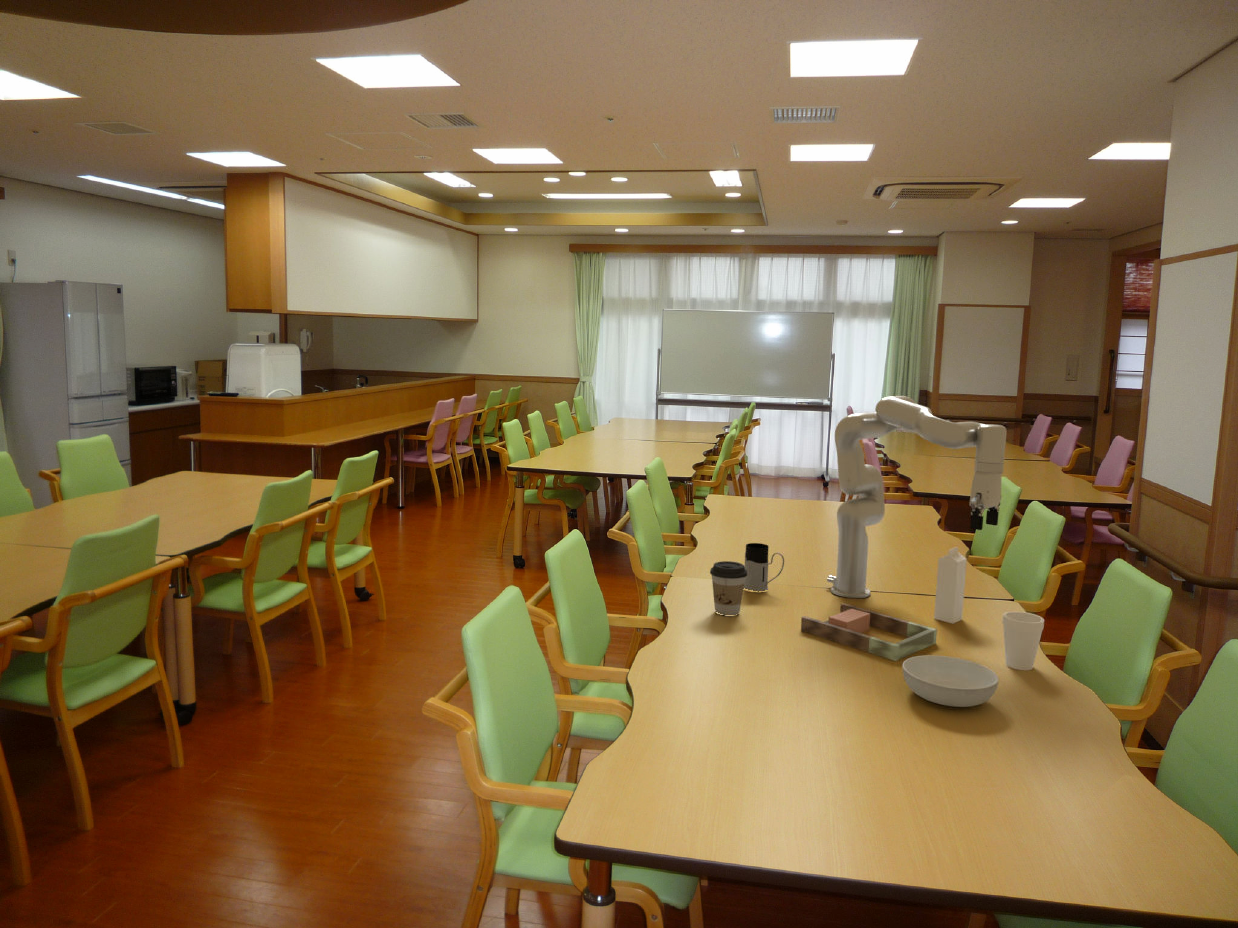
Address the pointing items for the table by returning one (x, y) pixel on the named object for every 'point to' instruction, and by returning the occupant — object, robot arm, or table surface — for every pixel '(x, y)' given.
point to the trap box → (916, 633)
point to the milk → (950, 587)
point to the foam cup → (1021, 638)
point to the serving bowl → (949, 680)
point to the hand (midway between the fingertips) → (984, 526)
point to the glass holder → (758, 566)
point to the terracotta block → (851, 620)
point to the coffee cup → (728, 586)
